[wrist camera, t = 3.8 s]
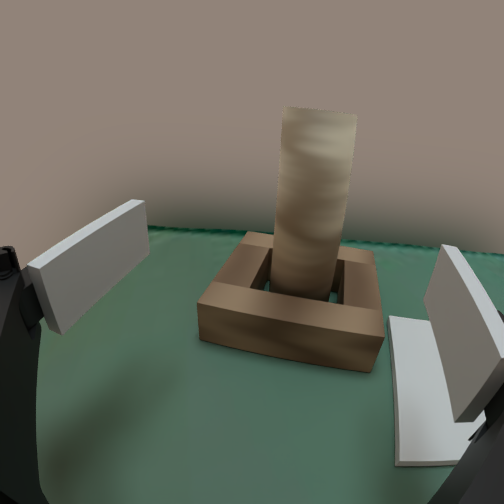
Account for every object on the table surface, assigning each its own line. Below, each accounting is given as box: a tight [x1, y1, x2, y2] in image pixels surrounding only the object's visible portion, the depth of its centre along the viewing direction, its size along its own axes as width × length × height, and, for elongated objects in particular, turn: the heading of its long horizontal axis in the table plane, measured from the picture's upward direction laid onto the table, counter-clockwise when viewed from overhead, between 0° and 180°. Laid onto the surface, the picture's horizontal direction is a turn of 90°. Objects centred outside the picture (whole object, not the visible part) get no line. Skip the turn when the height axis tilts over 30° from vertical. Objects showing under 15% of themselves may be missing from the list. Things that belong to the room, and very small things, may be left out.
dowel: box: [269, 107, 357, 302], centre depth 20 cm, size 4×4×14 cm
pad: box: [387, 316, 486, 466], centre depth 15 cm, size 12×12×1 cm
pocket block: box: [197, 231, 385, 373], centre depth 23 cm, size 11×11×3 cm
